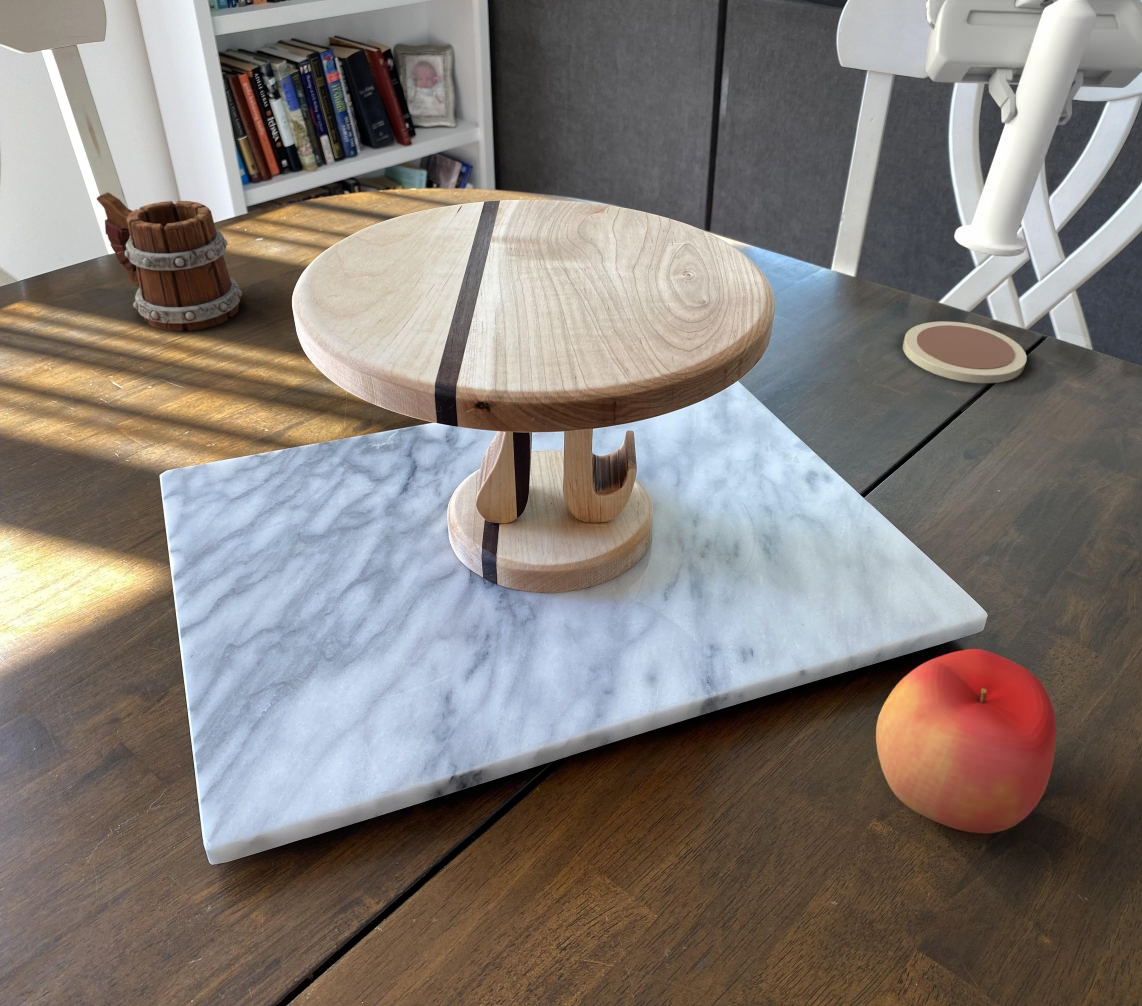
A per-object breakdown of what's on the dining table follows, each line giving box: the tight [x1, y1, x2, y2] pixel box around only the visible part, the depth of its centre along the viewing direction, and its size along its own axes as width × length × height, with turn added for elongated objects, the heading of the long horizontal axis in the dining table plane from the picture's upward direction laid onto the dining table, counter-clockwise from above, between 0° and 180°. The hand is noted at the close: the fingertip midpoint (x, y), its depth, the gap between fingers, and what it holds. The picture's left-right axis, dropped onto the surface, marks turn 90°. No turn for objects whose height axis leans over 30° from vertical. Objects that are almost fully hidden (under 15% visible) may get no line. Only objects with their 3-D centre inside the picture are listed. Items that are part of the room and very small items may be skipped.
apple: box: [875, 648, 1057, 834], centre depth 54 cm, size 10×10×10 cm
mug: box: [96, 191, 243, 332], centre depth 106 cm, size 12×14×15 cm
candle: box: [953, 0, 1096, 257], centre depth 90 cm, size 7×7×25 cm
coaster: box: [902, 320, 1028, 384], centre depth 105 cm, size 13×13×1 cm
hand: (1036, 120), depth 89 cm, fingers closed on candle, 3 cm apart
